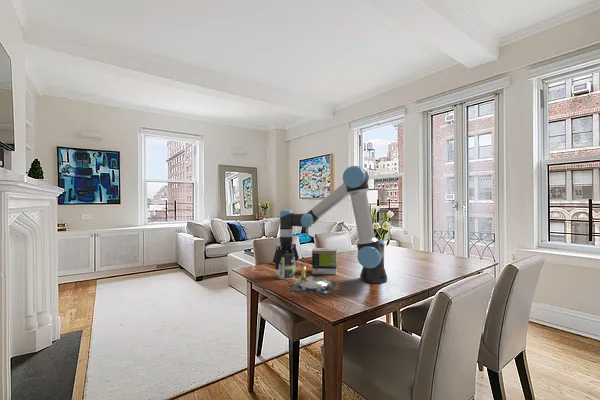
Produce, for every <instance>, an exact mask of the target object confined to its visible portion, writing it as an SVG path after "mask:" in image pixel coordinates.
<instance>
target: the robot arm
mask: <svg viewBox="0 0 600 400" xmlns="http://www.w3.org/2000/svg"><path fill="white" fill-rule="evenodd" d="M369 177H370V176H369V173H368V172H367V170H366V169H364V168H363V167H361V166H358V165H351V166H349V167H347V168H346V169H345V170H344V171H343V173H342V181H343V183H341V185H339V186H338V187H337V188H335V190H333V191H332V192H331V193H330V194H328V195H327V196H325V198H323V199H322V200H321V201H320V202H319V203H317V204H316V205H315V206H314V207H312V208H311V209H310V210H309V211H307V212H304V213H293V210H292V209H281V210H280V212H279V236H280V237H279V244H280V245H276V246H275V252H274V255H273V258H272V264H275V270H276V271H275V273H276V275H277V276H278V275H280V264H279V263H280V261H281V256H279V255H283V254H284V253H285V252H289V253H295V272H296V271H297V270H296V269H297V268H296V267H297V261H298V260H299V259H300V257H299V254H298V251H297V244H296V243H293V242H294V241H293V234H294V233H293V228H294V227H302V228H310V227H312V225H314V224H316V223H317V221H318V220H319V219H320V218H322V217H324V215H326V214H327V213H328V212H330V211H331V210H332V209H333V208H335V207H336V206H338V204H340V203H341V202H342V201H343V200H346V198H347V197H348V196H350V199H351V206H352V210H353V215H354V222H355V226H356V227H355V228H356V233H357V237H358V240H357V242H356V248H357V256H356V257H357V261H358V263H359V264H360V266H362V269H361V272H360V273H359V280H360V281H362V282H363V283H369V284H384V283H387V282H388V275H387V272H386V269H385V242H384V240H383V239H382V240H381V239H378V238H377V237H376V234H375V230H374V225H373V220H372V214H371V208H370V204H369V203H370V202H369V198H368V191H369V190H370V189H369V179H370V178H369Z"/></svg>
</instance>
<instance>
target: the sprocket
mask: <svg viewBox="0 0 600 400" xmlns="http://www.w3.org/2000/svg"><path fill="white" fill-rule="evenodd" d="M300 269H301V270H300V271H301V272H300V273H301V277H299V278H297V281H295V282H294V285H295V286H299V287H301V288H302V290H307V289H308V290H317V291H321V290H323V289H327V288H328V289H331V288H332V285H334V281H335V280H334V279H330V280H329V279H327V278H326V277H325V276H323V277H316V276H308V277H306V276H307V266H305V265H303V266H301V268H300Z"/></svg>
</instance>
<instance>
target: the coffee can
mask: <svg viewBox="0 0 600 400" xmlns="http://www.w3.org/2000/svg"><path fill="white" fill-rule="evenodd" d="M279 256H281V261H280V263H279V264H280V275H277V279H279V280H294V279H295V277H296V275H295V273H296V271H295V253H289V252H285V253H284V254H283V255H279Z"/></svg>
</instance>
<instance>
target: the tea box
mask: <svg viewBox="0 0 600 400" xmlns="http://www.w3.org/2000/svg"><path fill="white" fill-rule="evenodd" d="M311 273H312V274H314V275H315V274H317V275H337V273H338V249H337V248H332V247H331V248H327V247H325V248H323V247H322V248H321V247H314V248H313V249H312V250H311Z"/></svg>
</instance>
